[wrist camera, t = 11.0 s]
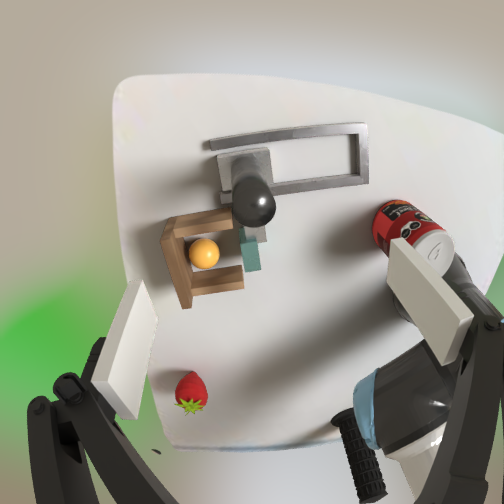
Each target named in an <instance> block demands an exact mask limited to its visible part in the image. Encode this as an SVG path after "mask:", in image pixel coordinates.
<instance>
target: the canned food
mask: <svg viewBox="0 0 504 504" xmlns="http://www.w3.org/2000/svg"><path fill="white" fill-rule="evenodd" d="M372 233H373V236H374V240H375V242H376V243H377V245H378V246H379V247H380V248H381V249H382V251H383V252H384V253H385V254H386V255H387V257H388V258H389V253H390V242H391V239H397V238H402V237H403V238H404V239H405V240H406V241H407V242H408V243H409V244H410V245H411V246H412V247H413V248H414V249H415V250H416V251H417V252H418V253H419V254H420V255H421V256H422V257H423V258H424V260H425V261H426V262H427V263H428V264H429V265H430V266H431V267H432V268H433V269H434V270H435V271H436V272H437V273H438V274H439V275H440V277H442V276H443V275H444V274H445V273H446V271H447V270H448V268H449V267H450V265H451V263H452V260H453V257H454V253H455V244H454V240H453V239H452V237H451V236H450V235H449V234H448V233H447V232H446V231H445V230H444V229H443V228H442V227H440V226H439V225H438V224H437V223H435V222H434V221H433V220H431V219H430V218H429V217H428V216H426V215H425V214H424V213H422V212H421V211H420V210H418V209H417V208H416V207H414V206H413V205H412V204H410V203H409V202H407V201H402V200H394V201H390V202H388V203H386V204H385V205H384V206H383V207H382V208H381V209H380V210H379V211H378V212H377V214H376V216H375V218H374V221H373V225H372Z"/></svg>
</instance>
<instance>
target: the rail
mask: <svg viewBox="0 0 504 504" xmlns="http://www.w3.org/2000/svg"><path fill="white" fill-rule="evenodd" d="M340 134H355V138H356V159H357V173H355V174H346V175H337V176H328V177H320V178H311V179H304V180H296V181H289V182H281V183H274V184H268V186H269V188H270V191H271V193H272V195H273V196H277V195H283V194H290V193H298V192H305V191H312V190H320V189H328V188H336V187H344V186H353V185H362V184H369V161H368V134H367V124H366V123H343V124H328V125H315V126H304V127H294V128H285V129H277V130H269V131H261V132H254V133H247V134H240V135H234V136H228V137H222V138H216V139H211V140H210V145H211V151H214V150H219V149H225V148H231V147H237V146H244V145H250V144H257V143H264V142H271V141H279V140H288V139H296V138H306V137H316V136H327V135H340ZM220 199H221V204H226V203H232V190H230V191H224V192H220Z"/></svg>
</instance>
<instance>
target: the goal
mask: <svg viewBox="0 0 504 504" xmlns="http://www.w3.org/2000/svg"><path fill="white" fill-rule="evenodd" d="M227 229H233V218H232V211H231V207H227V208H221V209H216V210H210V211H204V212H198V213H193V214H187V215H182V216H177V217H171V218H169V219H168V222H167V224H166V227H165V229H164V231H163V234H162V236H161V239H160V243H161V247H162V250H163V253H164V256H165V259H166V262H167V266H168V269H169V272H170V275H171V278H172V281H173V284H174V287H175V290H176V292H177V295H178V298H179V301H180V304H181V307H182V309H188V308H191V307H192V299H193V296H198V295H205V294H212V293H218V292H225V291H232V290H238V289H244V279H243V270H242V265H238V266H232V267H225V268H219V269H213V270H206V271H200V272H193V270H192V267H191V263H190V260H189V256H188V253H187V249H186V245H185V242H184V238H183V237H186V236H192V235H197V234H203V233H209V232H215V231H221V230H227Z"/></svg>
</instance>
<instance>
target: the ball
mask: <svg viewBox="0 0 504 504" xmlns="http://www.w3.org/2000/svg"><path fill="white" fill-rule="evenodd" d="M189 258H190V261H191V262H192V264H193V265H194V266H196V267H197V268H200V269H209V268H211V267H213V266H214V265H215V264H216V263H217V261H218V259H219V248H218V246H217V245H216V243H215V242H213V241H212V240H210V239H206V238H202V239H198V240H196V241H195V242H194V243H193V244H192V245H191V247H190V249H189Z"/></svg>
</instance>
